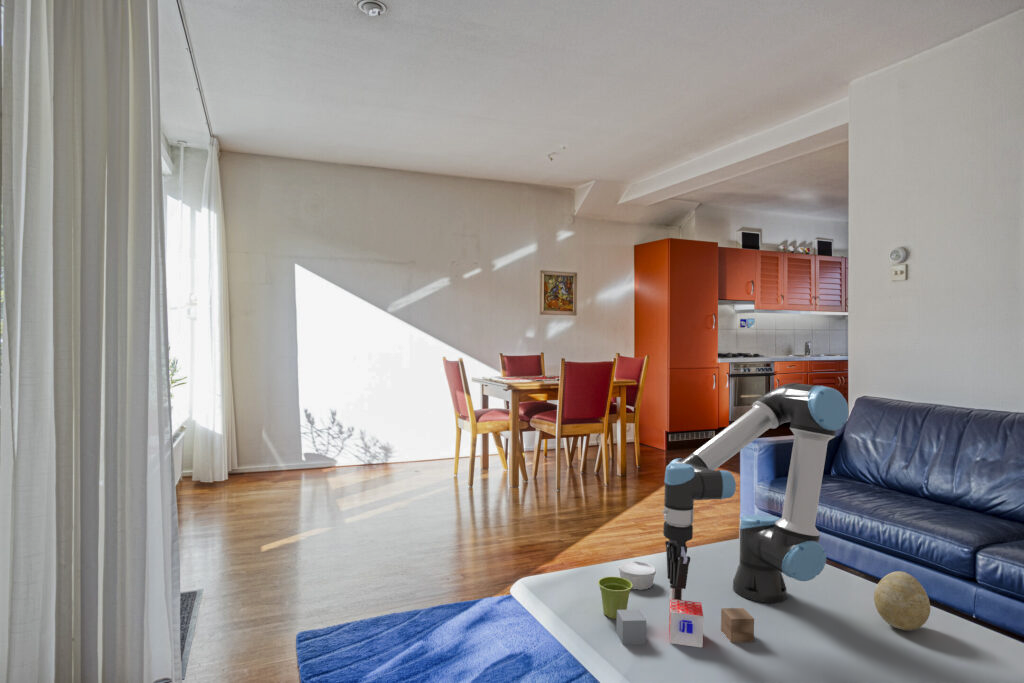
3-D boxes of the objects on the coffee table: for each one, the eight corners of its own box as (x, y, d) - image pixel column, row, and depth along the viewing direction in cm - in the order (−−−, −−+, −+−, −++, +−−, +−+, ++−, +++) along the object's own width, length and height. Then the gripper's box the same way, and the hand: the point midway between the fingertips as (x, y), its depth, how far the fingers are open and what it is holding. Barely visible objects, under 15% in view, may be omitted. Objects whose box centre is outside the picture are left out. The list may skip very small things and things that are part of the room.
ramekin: (660, 582, 188) (660, 565, 188) (648, 595, 179) (648, 577, 179) (626, 574, 194) (626, 558, 194) (613, 586, 185) (613, 569, 185)
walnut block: (742, 630, 158) (743, 608, 158) (753, 642, 152) (754, 618, 152) (720, 631, 158) (721, 608, 158) (730, 642, 152) (731, 619, 152)
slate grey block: (639, 632, 156) (639, 609, 156) (645, 644, 150) (646, 620, 150) (616, 632, 156) (616, 609, 155) (622, 644, 150) (622, 620, 149)
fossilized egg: (880, 612, 170) (881, 559, 170) (934, 628, 161) (935, 573, 161) (867, 627, 161) (868, 571, 161) (923, 644, 152) (925, 586, 152)
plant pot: (631, 624, 160) (632, 592, 160) (596, 620, 162) (597, 588, 162) (631, 608, 169) (632, 578, 169) (598, 605, 171) (599, 575, 171)
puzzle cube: (700, 632, 156) (701, 602, 156) (702, 647, 149) (703, 616, 148) (669, 628, 158) (669, 598, 158) (669, 643, 150) (670, 611, 150)
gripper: (657, 515, 166) (654, 599, 166) (672, 530, 153) (669, 622, 153) (683, 515, 166) (681, 599, 166) (701, 530, 153) (698, 622, 153)
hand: (675, 610), depth 160 cm, fingers closed
